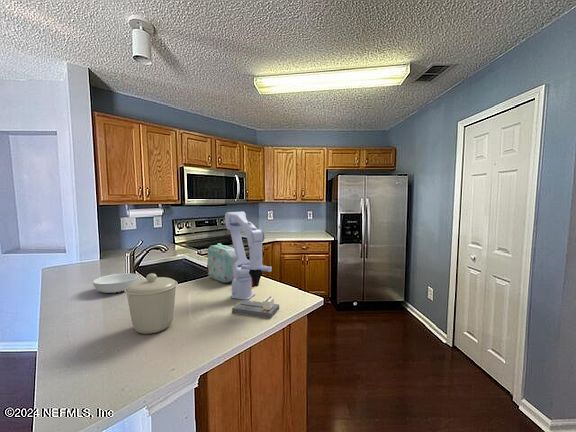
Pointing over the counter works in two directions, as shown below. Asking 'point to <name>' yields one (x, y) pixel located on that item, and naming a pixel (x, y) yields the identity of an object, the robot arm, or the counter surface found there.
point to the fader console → (254, 309)
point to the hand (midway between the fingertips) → (256, 285)
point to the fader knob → (268, 303)
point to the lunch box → (221, 262)
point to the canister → (151, 303)
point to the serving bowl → (114, 282)
